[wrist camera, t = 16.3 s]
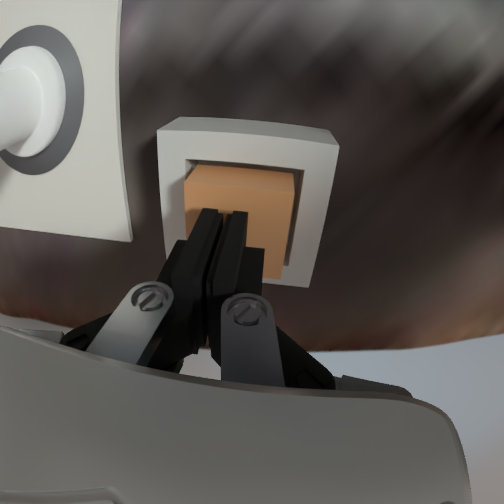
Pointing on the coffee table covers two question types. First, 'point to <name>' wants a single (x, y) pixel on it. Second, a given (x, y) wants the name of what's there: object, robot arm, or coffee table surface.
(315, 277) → the coffee table surface
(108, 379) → the robot arm
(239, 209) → the button
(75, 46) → the paper sheet
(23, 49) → the candle
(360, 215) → the coffee table surface
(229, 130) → the button housing
